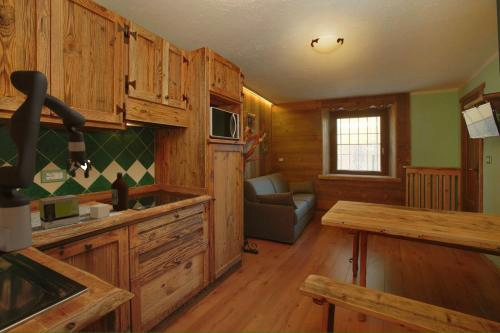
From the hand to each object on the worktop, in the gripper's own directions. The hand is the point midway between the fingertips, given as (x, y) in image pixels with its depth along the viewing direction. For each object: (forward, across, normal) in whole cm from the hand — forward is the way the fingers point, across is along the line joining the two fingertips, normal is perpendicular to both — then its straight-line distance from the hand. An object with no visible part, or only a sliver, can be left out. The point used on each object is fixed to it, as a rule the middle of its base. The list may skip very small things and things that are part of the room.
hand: (80, 177), depth 140 cm
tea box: (+23, 0, -15) cm, 27 cm away
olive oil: (+26, +9, +19) cm, 34 cm away
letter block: (+24, +10, +1) cm, 26 cm away
